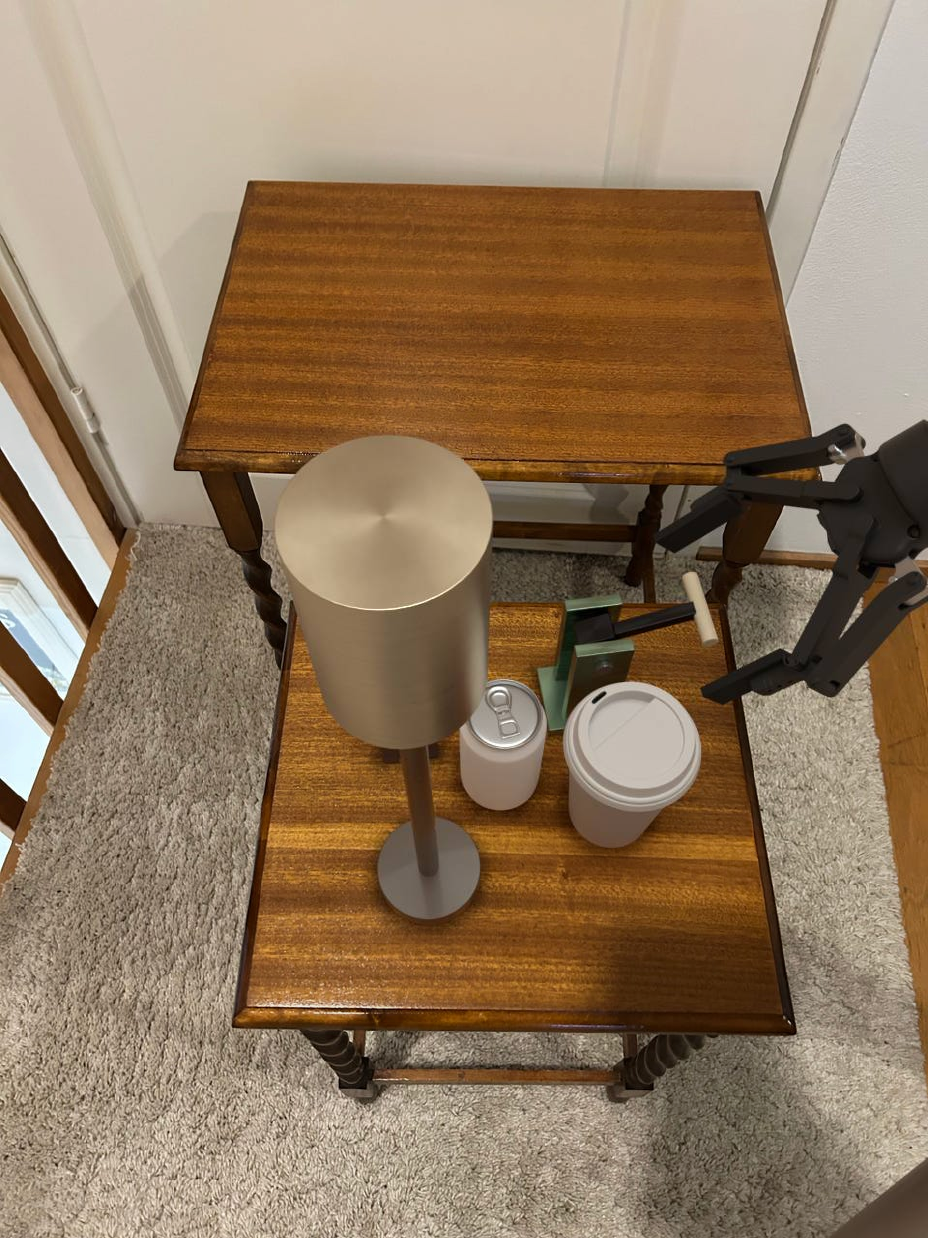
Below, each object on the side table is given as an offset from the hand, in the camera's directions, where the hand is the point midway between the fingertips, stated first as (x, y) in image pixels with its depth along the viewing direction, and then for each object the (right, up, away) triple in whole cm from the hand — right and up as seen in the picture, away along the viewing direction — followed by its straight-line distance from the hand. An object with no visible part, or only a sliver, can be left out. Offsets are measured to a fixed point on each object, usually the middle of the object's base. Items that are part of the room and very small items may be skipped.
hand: (685, 617), depth 71 cm
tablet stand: (-22, -9, +10) cm, 25 cm away
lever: (-3, -1, +1) cm, 3 cm away
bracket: (-7, -7, +10) cm, 14 cm away
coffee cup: (-5, -16, +5) cm, 17 cm away
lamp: (-20, -20, +2) cm, 28 cm away
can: (-14, -13, +7) cm, 20 cm away
